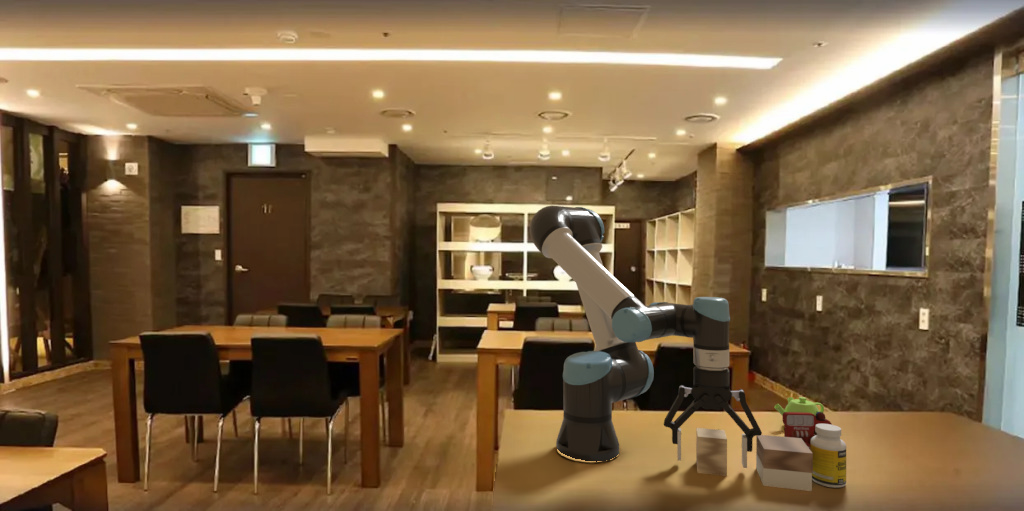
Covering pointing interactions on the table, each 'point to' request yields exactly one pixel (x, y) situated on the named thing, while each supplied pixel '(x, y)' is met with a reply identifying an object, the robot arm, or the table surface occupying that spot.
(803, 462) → the walnut block upper
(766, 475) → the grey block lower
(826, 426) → the pill bottle
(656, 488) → the table surface
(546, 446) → the table surface
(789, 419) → the toy fire truck
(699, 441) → the oak block
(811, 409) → the teapot
